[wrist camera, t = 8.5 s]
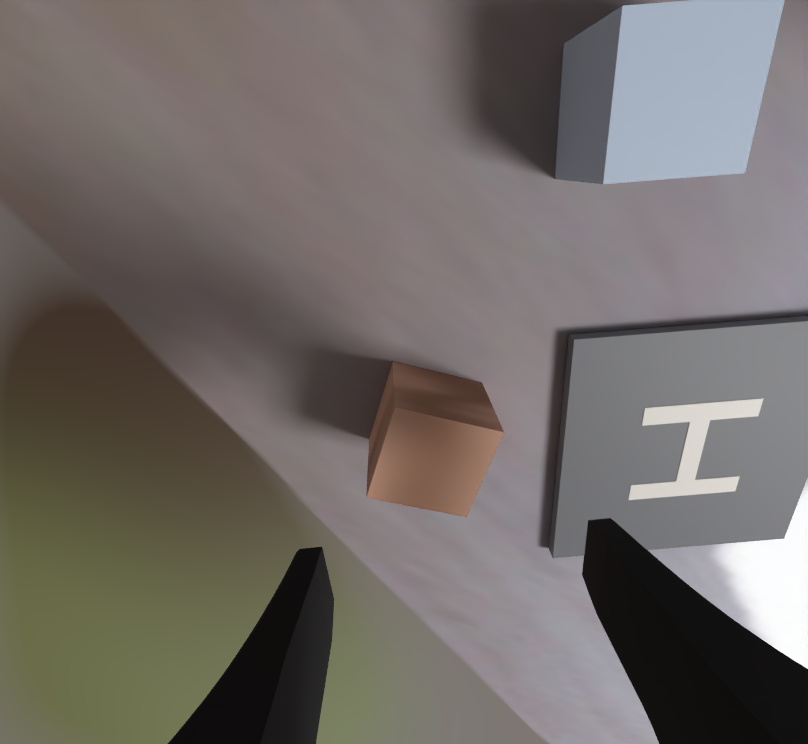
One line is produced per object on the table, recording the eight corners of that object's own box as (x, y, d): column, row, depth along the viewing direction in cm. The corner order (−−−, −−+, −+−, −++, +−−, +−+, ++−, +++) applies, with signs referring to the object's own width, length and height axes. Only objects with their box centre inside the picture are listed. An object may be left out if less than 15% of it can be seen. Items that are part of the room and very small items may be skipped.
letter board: (855, 311, 19) (870, 316, 18) (774, 529, 24) (784, 538, 23) (568, 334, 19) (574, 340, 18) (549, 548, 24) (552, 558, 23)
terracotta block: (481, 381, 20) (504, 432, 16) (452, 456, 21) (466, 517, 18) (392, 360, 19) (394, 407, 15) (369, 438, 21) (366, 497, 17)
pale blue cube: (686, 35, 15) (786, -7, 11) (664, 170, 16) (745, 172, 13) (563, 44, 15) (622, 5, 11) (554, 179, 16) (603, 184, 13)
